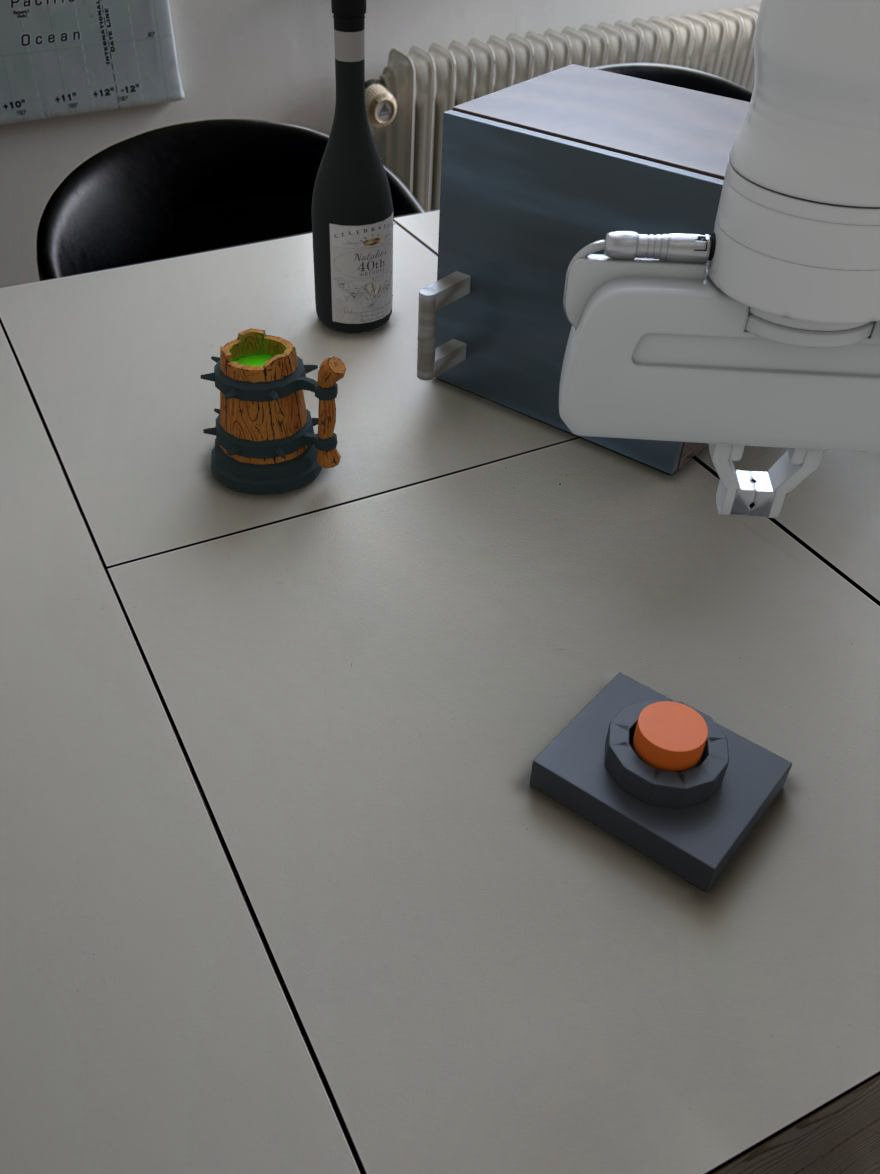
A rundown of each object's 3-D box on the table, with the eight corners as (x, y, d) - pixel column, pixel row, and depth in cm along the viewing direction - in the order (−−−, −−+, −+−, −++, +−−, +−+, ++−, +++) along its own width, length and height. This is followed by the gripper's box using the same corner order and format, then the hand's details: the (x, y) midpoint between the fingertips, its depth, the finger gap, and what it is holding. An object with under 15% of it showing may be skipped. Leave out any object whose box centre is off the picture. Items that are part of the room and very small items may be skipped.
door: (636, 504, 85) (695, 211, 69) (394, 399, 97) (397, 128, 81) (677, 470, 89) (742, 184, 73) (439, 372, 101) (450, 109, 85)
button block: (783, 786, 64) (801, 742, 61) (706, 892, 58) (722, 849, 55) (614, 695, 69) (623, 651, 67) (528, 784, 64) (535, 740, 61)
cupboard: (678, 470, 89) (744, 181, 73) (440, 373, 101) (452, 106, 85) (770, 391, 100) (845, 122, 83) (544, 311, 112) (572, 63, 95)
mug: (183, 475, 88) (164, 348, 80) (252, 420, 94) (240, 299, 87) (315, 520, 83) (308, 390, 75) (377, 459, 90) (376, 334, 82)
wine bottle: (405, 327, 109) (411, -5, 88) (338, 344, 106) (328, 4, 85) (368, 297, 114) (366, -23, 93) (303, 313, 111) (286, -15, 90)
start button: (714, 743, 61) (720, 722, 60) (681, 783, 59) (687, 763, 58) (654, 711, 63) (659, 690, 62) (620, 748, 61) (624, 728, 60)
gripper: (572, 259, 42) (540, 533, 51) (1101, 283, 40) (968, 561, 50) (570, 201, 47) (541, 463, 56) (1045, 221, 45) (933, 487, 54)
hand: (745, 510), depth 53 cm, fingers closed
